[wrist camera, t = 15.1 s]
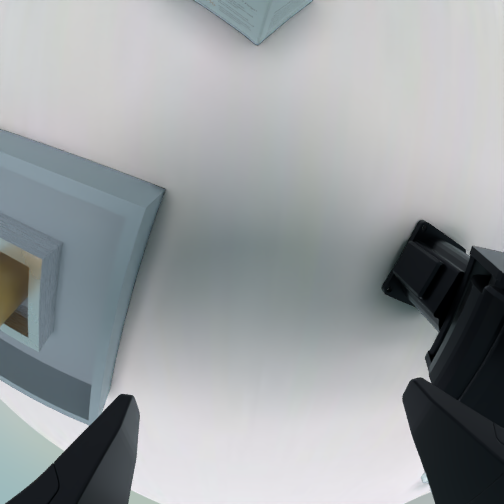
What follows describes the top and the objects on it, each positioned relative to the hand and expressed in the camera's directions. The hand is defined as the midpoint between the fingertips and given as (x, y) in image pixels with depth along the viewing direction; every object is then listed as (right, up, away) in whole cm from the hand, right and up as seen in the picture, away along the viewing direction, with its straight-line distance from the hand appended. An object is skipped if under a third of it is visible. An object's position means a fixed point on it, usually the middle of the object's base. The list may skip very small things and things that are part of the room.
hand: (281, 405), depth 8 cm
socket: (-20, +4, +11) cm, 23 cm away
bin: (-20, +4, +11) cm, 23 cm away
